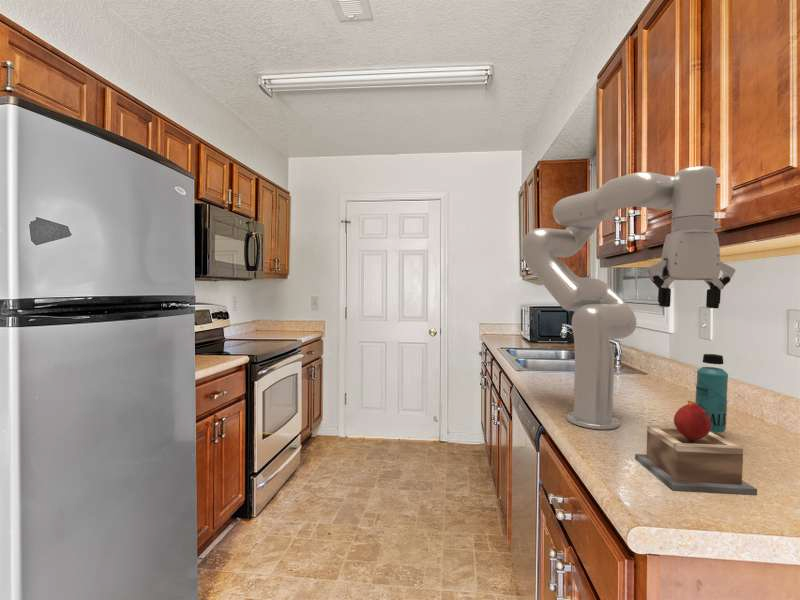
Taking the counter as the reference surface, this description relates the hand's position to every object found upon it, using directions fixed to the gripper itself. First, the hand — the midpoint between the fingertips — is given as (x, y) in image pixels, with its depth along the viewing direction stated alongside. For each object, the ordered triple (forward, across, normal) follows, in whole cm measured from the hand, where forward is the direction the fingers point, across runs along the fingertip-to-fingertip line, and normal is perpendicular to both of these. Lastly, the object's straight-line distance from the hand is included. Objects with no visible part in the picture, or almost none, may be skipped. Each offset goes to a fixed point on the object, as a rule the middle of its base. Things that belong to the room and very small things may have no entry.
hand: (688, 307), depth 90 cm
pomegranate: (+26, +4, +11) cm, 28 cm away
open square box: (+32, +4, +11) cm, 34 cm away
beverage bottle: (+32, -14, -14) cm, 38 cm away
